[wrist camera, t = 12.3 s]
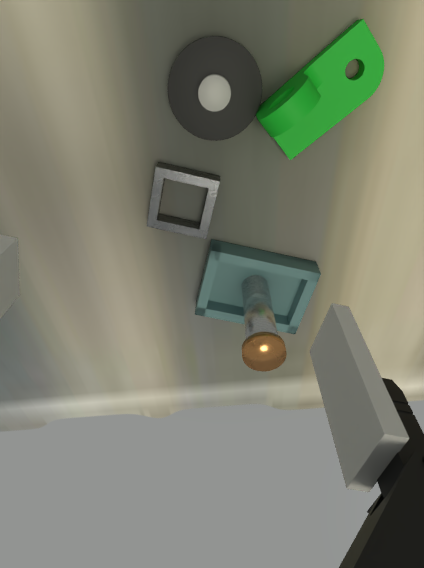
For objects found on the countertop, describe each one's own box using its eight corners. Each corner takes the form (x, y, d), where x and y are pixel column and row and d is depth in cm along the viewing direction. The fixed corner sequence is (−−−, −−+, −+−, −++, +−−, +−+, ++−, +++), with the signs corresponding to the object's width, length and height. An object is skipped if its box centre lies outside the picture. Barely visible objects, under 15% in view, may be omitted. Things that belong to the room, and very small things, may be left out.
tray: (196, 301, 54) (194, 314, 52) (211, 239, 49) (210, 250, 47) (291, 320, 55) (295, 334, 53) (315, 261, 51) (320, 273, 48)
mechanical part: (287, 155, 44) (299, 177, 37) (254, 110, 42) (259, 124, 35) (388, 75, 40) (422, 82, 33) (357, 19, 37) (386, 16, 31)
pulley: (164, 124, 42) (158, 132, 39) (179, 25, 38) (174, 24, 34) (246, 144, 43) (248, 154, 40) (271, 49, 39) (276, 51, 35)
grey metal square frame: (149, 219, 48) (146, 226, 46) (158, 161, 44) (155, 166, 43) (206, 231, 49) (206, 239, 47) (220, 176, 45) (219, 181, 43)
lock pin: (234, 297, 52) (237, 367, 41) (242, 268, 50) (248, 334, 39) (266, 303, 53) (278, 374, 42) (276, 275, 51) (292, 342, 39)
